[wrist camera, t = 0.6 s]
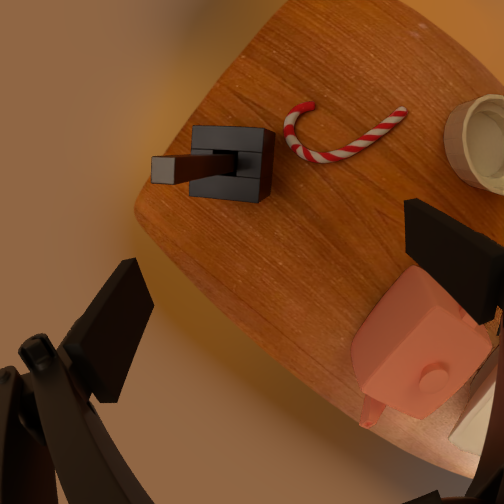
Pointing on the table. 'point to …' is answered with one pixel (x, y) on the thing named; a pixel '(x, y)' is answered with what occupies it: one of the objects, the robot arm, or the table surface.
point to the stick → (190, 167)
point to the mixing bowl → (477, 142)
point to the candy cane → (341, 152)
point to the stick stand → (248, 163)
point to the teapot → (415, 348)
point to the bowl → (477, 409)
